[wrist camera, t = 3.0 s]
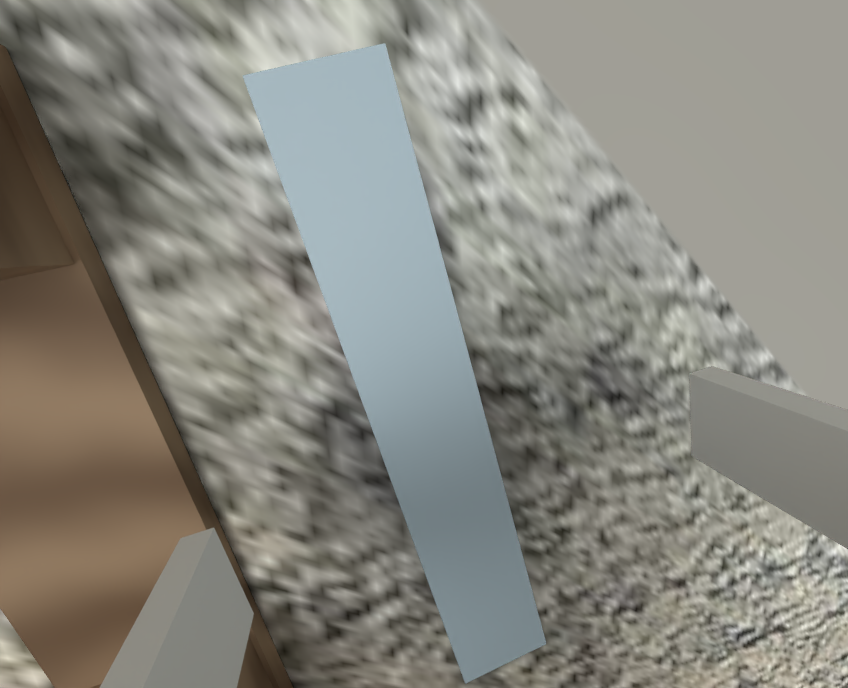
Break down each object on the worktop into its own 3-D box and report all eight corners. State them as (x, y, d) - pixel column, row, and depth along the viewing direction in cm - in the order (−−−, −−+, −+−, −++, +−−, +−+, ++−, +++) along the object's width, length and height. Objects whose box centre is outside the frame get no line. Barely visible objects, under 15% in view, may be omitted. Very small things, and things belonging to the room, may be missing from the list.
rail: (501, 561, 22) (546, 643, 18) (436, 590, 22) (465, 683, 17) (369, 106, 16) (384, 42, 11) (270, 130, 15) (242, 75, 10)
